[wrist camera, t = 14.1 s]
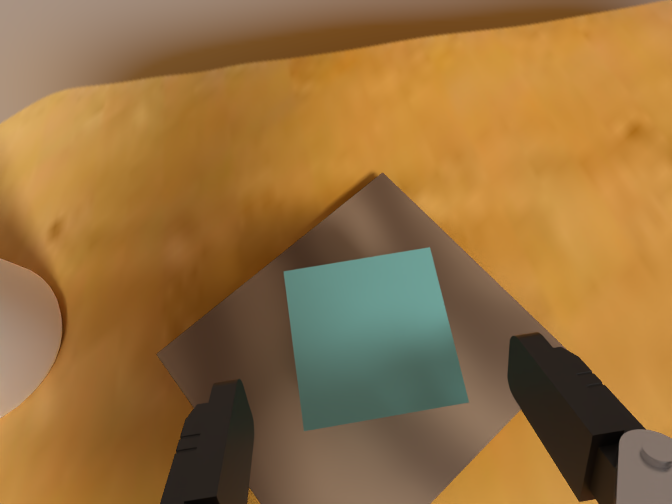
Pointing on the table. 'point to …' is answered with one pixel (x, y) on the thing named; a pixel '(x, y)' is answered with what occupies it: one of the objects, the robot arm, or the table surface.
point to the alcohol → (25, 333)
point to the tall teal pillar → (371, 339)
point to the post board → (371, 435)
